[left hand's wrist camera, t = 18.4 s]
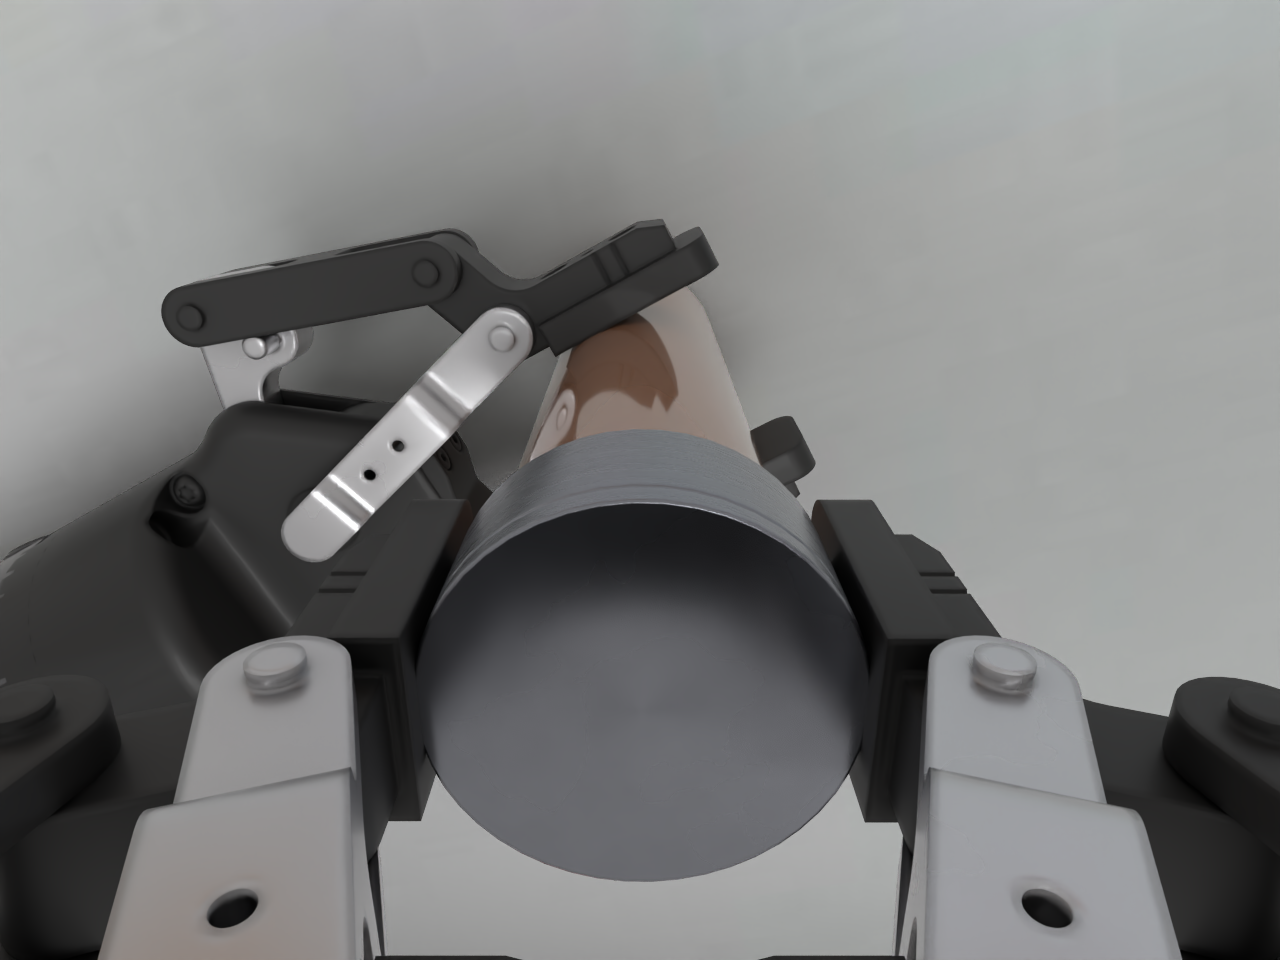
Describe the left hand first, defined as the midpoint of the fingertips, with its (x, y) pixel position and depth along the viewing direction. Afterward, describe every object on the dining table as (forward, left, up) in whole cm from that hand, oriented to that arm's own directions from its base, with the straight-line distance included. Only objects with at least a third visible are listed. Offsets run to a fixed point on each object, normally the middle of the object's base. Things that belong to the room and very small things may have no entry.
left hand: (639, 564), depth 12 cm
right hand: (-1, +3, -8) cm, 8 cm away
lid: (0, 0, +3) cm, 3 cm away
